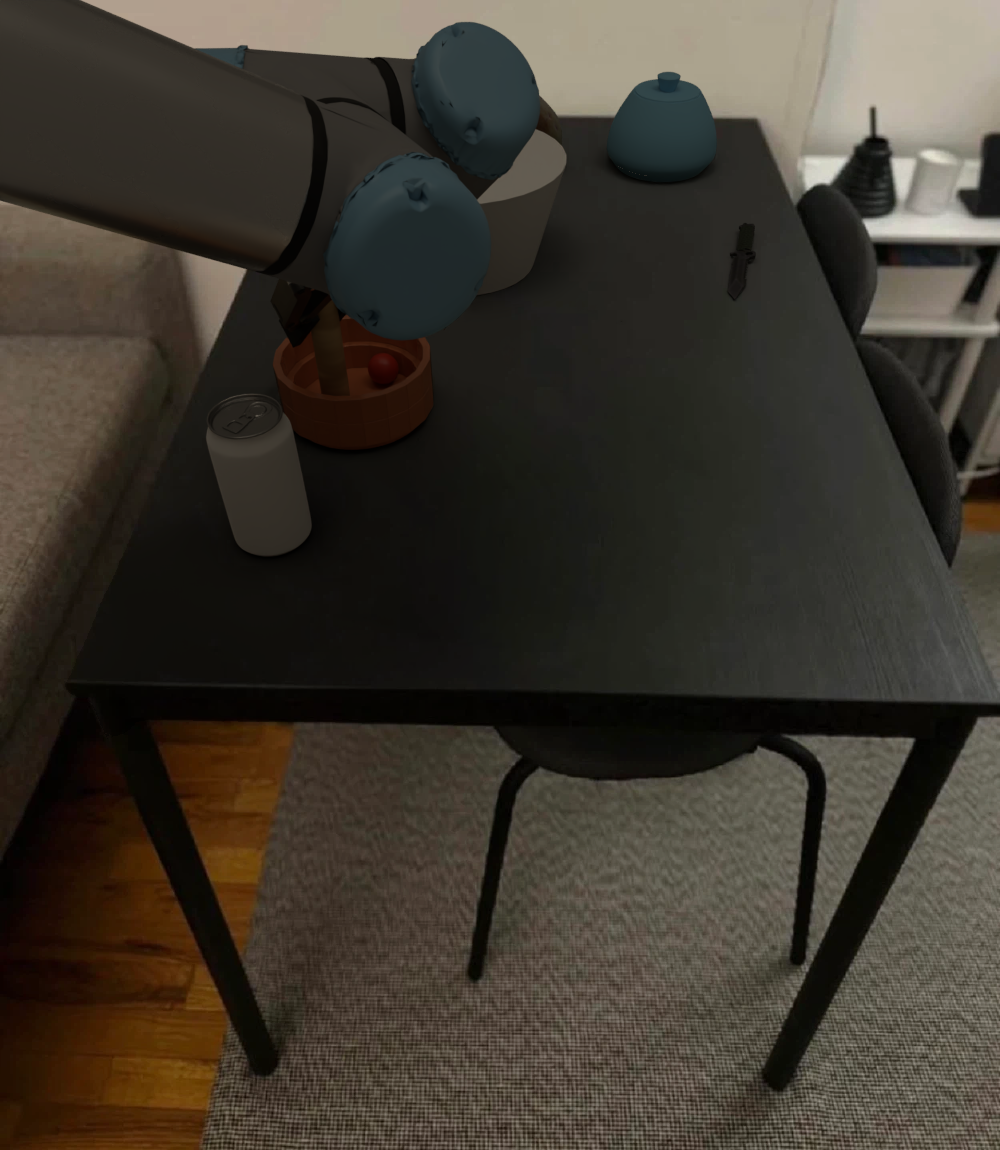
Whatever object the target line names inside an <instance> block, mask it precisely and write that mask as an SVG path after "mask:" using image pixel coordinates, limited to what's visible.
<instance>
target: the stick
mask: <svg viewBox="0 0 1000 1150" xmlns="http://www.w3.org/2000/svg"><path fill="white" fill-rule="evenodd" d="M318 317H319V319H320V320H319V322H318V323H317V324H316V325H315V327H314V328H313V329H312V330H311V335H312V341H313V347H314V353H315V358H316V364H317V370H318V376H319V382H320V388H321V394H325V395H331V396H350V390H349V383H348V376H347V369H346V362H345V355H344V348H343V341H342V334H341V327H340V320H339V313H338V308H337V307H336V305H335V304H334V302H333V301H332V300H331V301H330V302H329V303H328V304H327V305H326V306H325V307H324V308H323V309H322V310H321V311H320V312H319V313H318Z"/></svg>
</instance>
